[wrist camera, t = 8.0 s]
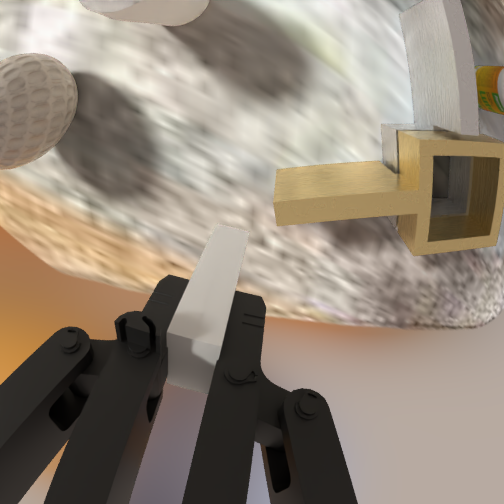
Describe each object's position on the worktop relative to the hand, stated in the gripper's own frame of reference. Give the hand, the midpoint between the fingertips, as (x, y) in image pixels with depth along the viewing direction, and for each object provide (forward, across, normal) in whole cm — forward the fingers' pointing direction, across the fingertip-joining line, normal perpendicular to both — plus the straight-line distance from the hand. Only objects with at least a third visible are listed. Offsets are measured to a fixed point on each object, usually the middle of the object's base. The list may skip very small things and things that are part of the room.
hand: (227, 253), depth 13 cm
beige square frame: (+18, +12, +3) cm, 22 cm away
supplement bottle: (+19, +22, +18) cm, 34 cm away
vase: (+19, -26, +4) cm, 33 cm away
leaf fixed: (+18, +15, +11) cm, 26 cm away
